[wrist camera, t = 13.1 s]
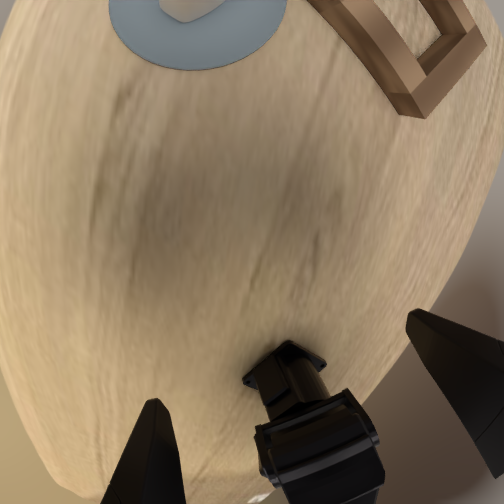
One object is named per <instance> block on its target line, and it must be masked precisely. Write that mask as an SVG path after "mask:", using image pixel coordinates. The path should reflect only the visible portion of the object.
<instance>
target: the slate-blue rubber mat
mask: <svg viewBox="0 0 504 504" xmlns="http://www.w3.org/2000/svg"><path fill="white" fill-rule="evenodd" d="M286 3H287V0H225V1H224V2H223V3H222V4H221V5H219V6H218V7H217V8H215V9H214V10H212V11H211V12H209V13H207V14H205V15H204V16H202V17H200V18H198V19H195V20H193V21H190V22H185V23H183V22H180V21H178V20H176V19H175V18H173V17H172V16H170V15H169V14H167V13H166V12H164V11H163V10H162V9H161V8H160V5H159V0H109V14H110V19H111V22H112V25H113V27H114V30H115V31H116V33H117V35H118V36H119V38H120V39H121V40H122V41H123V42H124V44H125V45H126V46H127V47H128V48H129V49H131V50H132V51H133V52H134V53H135V54H137V55H139V56H140V57H142V58H143V59H145V60H147V61H150V62H152V63H154V64H157V65H160V66H163V67H168V68H172V69H180V70H204V69H212V68H216V67H221V66H225V65H228V64H231V63H234V62H236V61H238V60H240V59H243V58H244V57H246V56H248V55H250V54H251V53H253V52H254V51H256V50H257V49H258V48H260V47H261V46H262V45H264V44H265V43H266V42H267V41H268V40H269V39H270V38H271V36H272V35H273V34H274V33H275V31H276V30H277V28H278V27H279V25H280V23H281V21H282V19H283V16H284V13H285V9H286Z"/></svg>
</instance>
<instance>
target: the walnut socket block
mask: <svg viewBox="0 0 504 504" xmlns="http://www.w3.org/2000/svg"><path fill="white" fill-rule="evenodd" d="M307 1H308V2H309V3H310V4H311V5H312V6H313V7H314V8H315V9H316V10H317V11H318V12H319V13H320V14H321V15H322V16H323V17H324V18H325V19H326V20H327V21H328V22H329V24H330V25H331V26H332V27H333V28H334V29H335V30H336V31H337V32H338V34H339V35H340V36H341V37H342V38H343V39H344V41H345V42H346V43H347V44H348V45H349V46H350V48H351V49H352V50H353V51H354V53H355V54H356V55H357V56H358V58H359V59H360V60H361V61H362V63H363V64H364V65H365V67H366V68H367V69H368V70H369V72H370V73H371V74H372V76H373V77H374V79H375V80H376V81H377V83H378V84H379V85H380V87H381V88H382V90H383V91H384V93H385V94H386V95H387V97H388V98H389V100H390V101H391V103H392V104H393V106H394V107H395V109H396V110H397V112H398V114H399V115H404V116H410V117H416V118H422V119H426V118H427V117H428V116H429V114H430V113H431V112H432V111H433V110H434V109H435V107H436V106H437V105H438V104H439V103H440V102H441V101H442V99H443V98H444V97H445V96H446V95H447V93H448V92H449V91H450V90H451V89H452V88H453V86H454V85H455V84H456V83H457V82H458V80H459V79H460V78H461V77H462V76H463V74H464V73H465V72H466V71H467V70H468V68H469V67H470V66H471V65H472V64H473V62H474V61H475V60H476V59H477V57H478V56H479V55H480V54H481V52H482V51H483V50H484V49H485V47H486V46H487V44H486V42H485V40H484V38H483V36H482V34H481V32H480V30H479V28H478V27H477V25H476V23H475V21H474V19H473V17H472V16H471V14H470V12H469V10H468V9H467V7H466V5H465V4H464V2H463V0H420V2H421V3H422V4H423V6H424V7H425V9H426V10H427V12H428V13H429V15H430V16H431V18H432V19H433V21H434V22H435V24H436V25H437V27H438V29H439V30H440V32H441V33H442V36H441V37H440V38H439V39H437V40H436V41H435V42H434V43H433V44H432V45H431V46H430V47H429V48H428V49H427V50H426V51H425V52H424V53H423V54H422V55H421V56H420V57H419V58H418V59H417V60H416V58H415V57H414V55H413V54H412V52H411V51H410V49H409V48H408V46H407V45H406V43H405V42H404V40H403V39H402V38H401V36H400V35H399V33H398V32H397V31H396V29H395V28H394V26H393V25H392V24H391V22H390V21H389V20H388V19H387V17H386V16H385V15H384V13H383V12H382V11H381V10H380V8H379V7H378V6H377V5H376V4H375V2H374V1H373V0H307Z"/></svg>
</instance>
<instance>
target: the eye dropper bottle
mask: <svg viewBox="0 0 504 504" xmlns="http://www.w3.org/2000/svg"><path fill="white" fill-rule="evenodd" d="M224 1H225V0H159V5H160V8H161V9H162V10H163V11H164V12H166V13H167V14H169V15H170V16H172V17H173V18H175V19H176V20H178V21H180V22H183V23H185V22H190V21H193V20H195V19H198V18H200V17H202V16H204V15H205V14H207V13H209V12H211V11H212V10H214V9H215V8H217V7H218V6H219V5H221V4H222V3H223V2H224Z"/></svg>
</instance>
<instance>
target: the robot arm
mask: <svg viewBox="0 0 504 504" xmlns="http://www.w3.org/2000/svg"><path fill="white" fill-rule="evenodd" d="M406 333H407V335H408V337H409V339H410V340H411V342H412V344H413V345H414V348H415V349H416V351H417V353H418V355H419V357H420V358H421V360H422V362H423V364H424V366H425V367H426V369H427V370H428V372H429V373H430V374H431V376H432V377H433V379H434V380H435V382H436V383H437V385H438V386H439V388H440V389H441V391H442V392H443V394H444V395H445V397H446V398H447V400H448V401H449V403H450V405H451V406H452V408H453V409H454V411H455V412H456V414H457V415H458V417H459V419H460V420H461V422H462V423H463V425H464V427H465V428H466V430H467V431H468V433H469V435H470V436H471V438H472V440H473V441H474V443H475V445H476V446H477V449H478V450H479V452H480V454H481V455H482V457H483V459H484V461H485V462H486V464H487V466H488V468H489V470H490V471H491V473H492V475H493V477H494V478H495V479H496V478H498V477H499V476H501V475H502V474H503V473H504V342H503V341H501V340H498V339H496V338H493V337H491V336H488V335H486V334H483V333H481V332H478V331H475V330H473V329H471V328H468V327H465V326H463V325H460V324H458V323H455V322H453V321H450V320H448V319H445V318H443V317H440V316H437V315H435V314H433V313H430V312H427V311H425V310H422V309H419V308H417V309H414V310H412V311H410V312H409V313H408V317H407V322H406ZM326 365H327V363H326V362H325V360H323V359H321V358H320V357H318V356H316V355H315V354H313V353H311V352H309V351H308V350H306V349H304V348H302V347H301V346H299V345H297V344H296V343H294V342H292V341H286V342H285V343H284V344H282V345H281V346H280V347H279V348H278V349H277V350H276V351H274V352H273V353H272V354H271V355H270V356H269V357H268V358H266V359H265V360H264V361H263V362H262V363H261V364H259V365H258V366H257V367H256V368H255V369H253V370H252V371H251V372H250V373H249V374H247V375H246V376H245V377H244V378H243V379H242V381H243V384H244V385H246V386H248V387H251V388H253V389H256V390H258V391H259V394H260V397H261V400H262V403H263V405H264V406H265V408H266V411H267V414H268V417H269V420H270V422H268V423H266V424H263V425H261V424H260V425H257V426H255V429H256V434H255V436H254V439H255V443H256V446H257V450H258V459H259V471H260V474H261V475H262V476H264V477H266V478H268V479H269V481H270V482H271V483H272V484H273V486H274V487H275V488H276V489H277V488H280V487H282V489H283V491H284V493H285V495H286V497H287V499H288V502H289V504H376V499H377V495H378V491H379V487H381V486H383V485H384V480H385V470H384V469H383V465H382V463H381V460H380V458H379V456H378V453H377V451H376V448H375V447H377V446H379V444H380V443H379V438H378V434H377V432H376V429H375V427H374V425H373V424H372V421H371V419H370V418H369V416H368V415H367V413H366V412H365V411H364V409H363V408H362V407H361V405H360V404H359V403H358V401H357V400H356V399H355V397H354V396H353V395H352V393H351V392H350V391H349V389H348V388H346V389H344V390H342V392H340V393H338V394H336V395H334V396H332V397H331V396H330V394H329V392H328V390H327V388H326V386H325V384H324V382H323V381H322V379H321V377H320V375H319V372H320V371H321V370H322V369H324V368H325V367H326ZM100 504H186V499H185V493H184V486H183V479H182V472H181V464H180V457H179V451H178V447H177V443H176V439H175V434H174V430H173V426H172V421H171V417H170V413H169V411H168V409H167V408H166V407H165V406H164V404H163V403H162V402H161V400H160V399H158V398H154V399H149V400H147V401H146V402H145V404H144V407H143V409H142V411H141V413H140V415H139V417H138V420H137V422H136V424H135V426H134V428H133V431H132V433H131V435H130V437H129V440H128V442H127V444H126V446H125V449H124V451H123V453H122V455H121V458H120V460H119V462H118V464H117V467H116V469H115V471H114V474H113V476H112V478H111V481H110V484H109V485H108V487H107V490H106V492H105V494H104V497H103V499H102V501H101V503H100Z"/></svg>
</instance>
